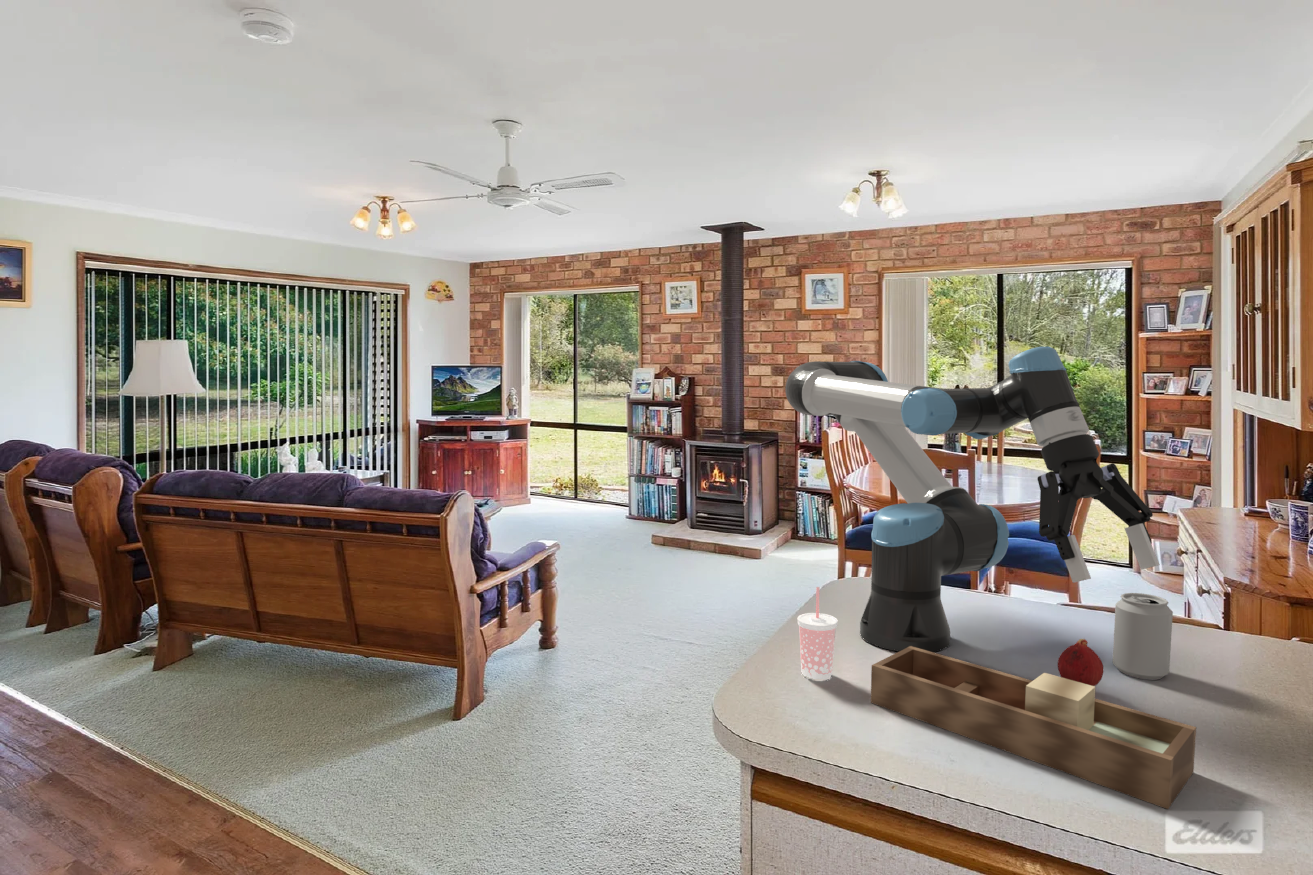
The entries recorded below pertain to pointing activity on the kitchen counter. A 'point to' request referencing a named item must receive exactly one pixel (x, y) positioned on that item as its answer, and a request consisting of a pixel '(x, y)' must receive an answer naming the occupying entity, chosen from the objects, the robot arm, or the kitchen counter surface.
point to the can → (1142, 636)
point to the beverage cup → (817, 642)
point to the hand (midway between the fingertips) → (1116, 574)
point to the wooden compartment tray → (1039, 725)
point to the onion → (1080, 664)
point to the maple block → (1061, 700)
